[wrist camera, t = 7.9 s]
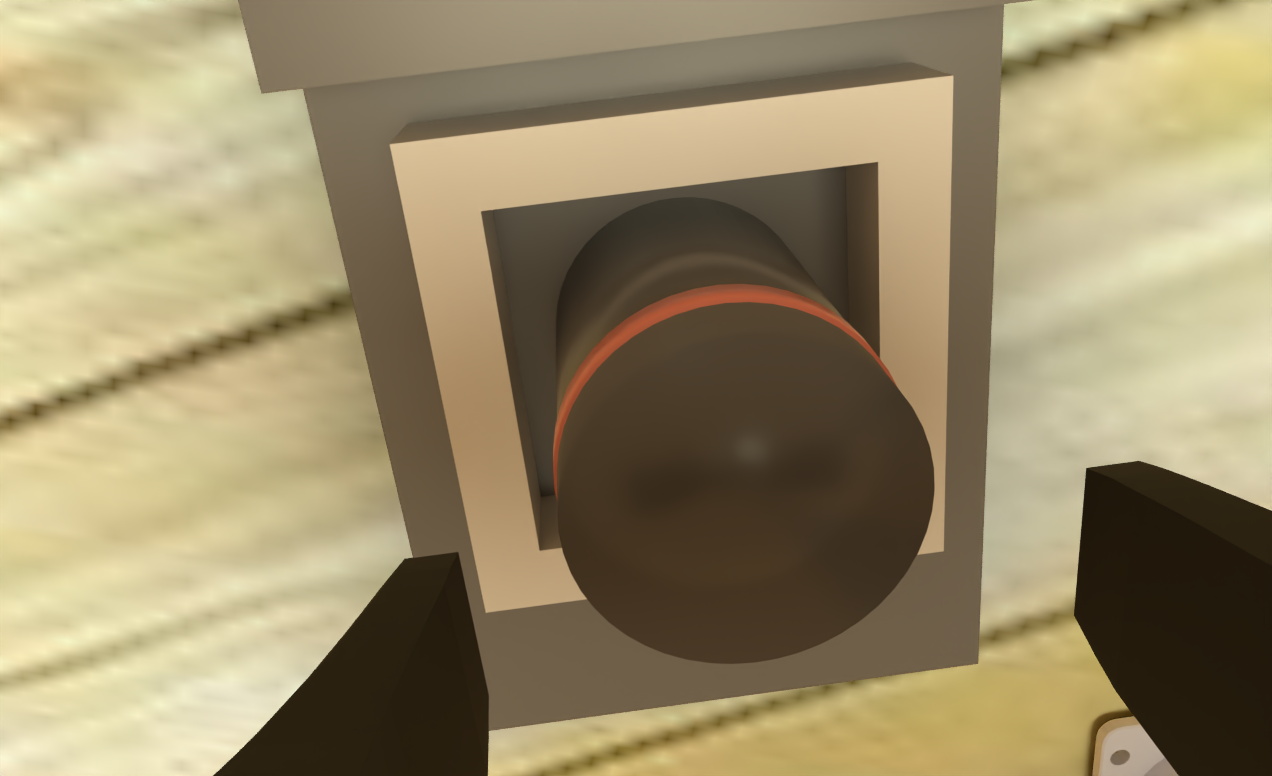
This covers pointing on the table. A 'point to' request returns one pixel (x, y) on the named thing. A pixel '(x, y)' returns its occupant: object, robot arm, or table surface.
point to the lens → (726, 441)
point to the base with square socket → (600, 192)
